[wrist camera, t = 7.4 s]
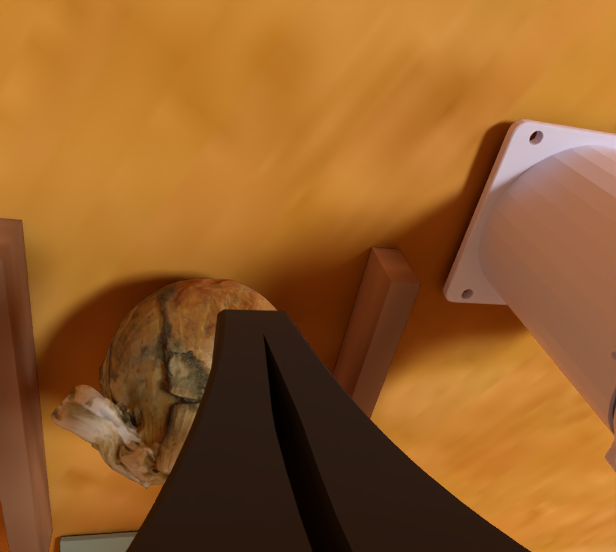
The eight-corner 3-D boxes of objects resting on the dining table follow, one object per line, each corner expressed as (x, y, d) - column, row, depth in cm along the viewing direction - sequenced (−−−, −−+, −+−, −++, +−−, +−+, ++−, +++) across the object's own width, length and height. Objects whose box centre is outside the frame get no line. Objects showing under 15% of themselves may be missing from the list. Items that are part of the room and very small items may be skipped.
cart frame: (398, 248, 22) (421, 284, 20) (309, 514, 32) (318, 555, 30) (-18, 216, 18) (-43, 257, 16) (27, 532, 28) (15, 582, 26)
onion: (136, 409, 24) (120, 593, 18) (75, 265, 19) (23, 443, 13) (299, 375, 25) (340, 539, 19) (278, 229, 20) (324, 379, 14)
